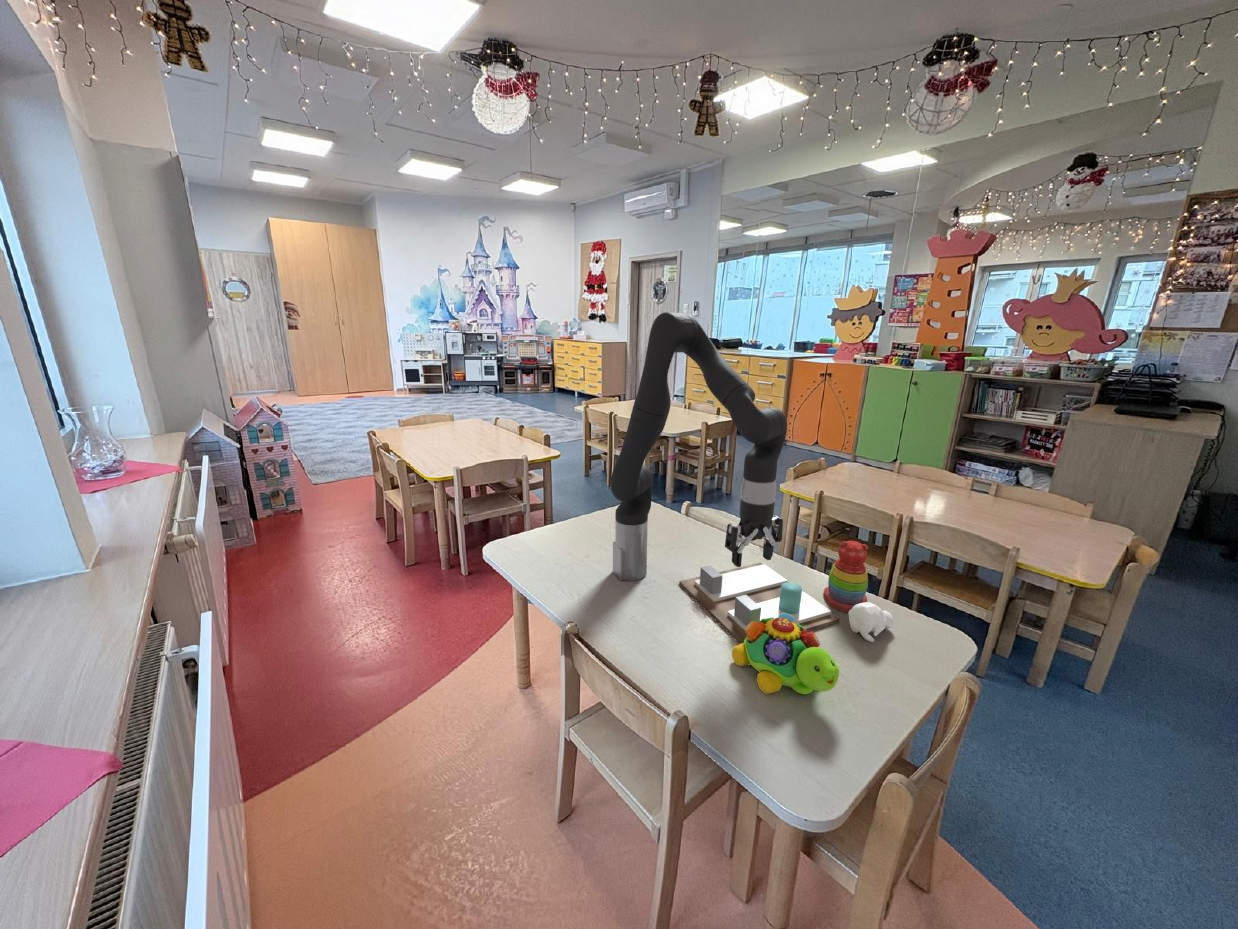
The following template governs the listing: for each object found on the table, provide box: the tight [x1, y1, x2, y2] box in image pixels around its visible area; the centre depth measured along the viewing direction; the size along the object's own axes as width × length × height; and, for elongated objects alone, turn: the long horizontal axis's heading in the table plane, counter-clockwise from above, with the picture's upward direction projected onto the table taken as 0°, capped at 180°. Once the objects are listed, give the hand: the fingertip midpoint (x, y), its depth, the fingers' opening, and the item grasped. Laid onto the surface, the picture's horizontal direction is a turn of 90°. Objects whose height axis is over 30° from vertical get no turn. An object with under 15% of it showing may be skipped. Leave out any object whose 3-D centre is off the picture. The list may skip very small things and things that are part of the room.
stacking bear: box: [823, 540, 869, 613], centre depth 130 cm, size 11×10×18 cm
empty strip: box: [694, 563, 788, 602], centre depth 139 cm, size 24×10×6 cm, turn 113°
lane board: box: [678, 562, 841, 645], centre depth 133 cm, size 28×31×1 cm
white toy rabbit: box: [847, 601, 894, 643], centre depth 120 cm, size 6×8×12 cm
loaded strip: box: [727, 590, 832, 630], centre depth 125 cm, size 24×10×6 cm, turn 113°
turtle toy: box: [731, 613, 840, 695], centre depth 105 cm, size 17×23×12 cm
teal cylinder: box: [779, 581, 803, 614], centre depth 125 cm, size 5×5×6 cm
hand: (752, 562), depth 117 cm, fingers open, 8 cm apart
